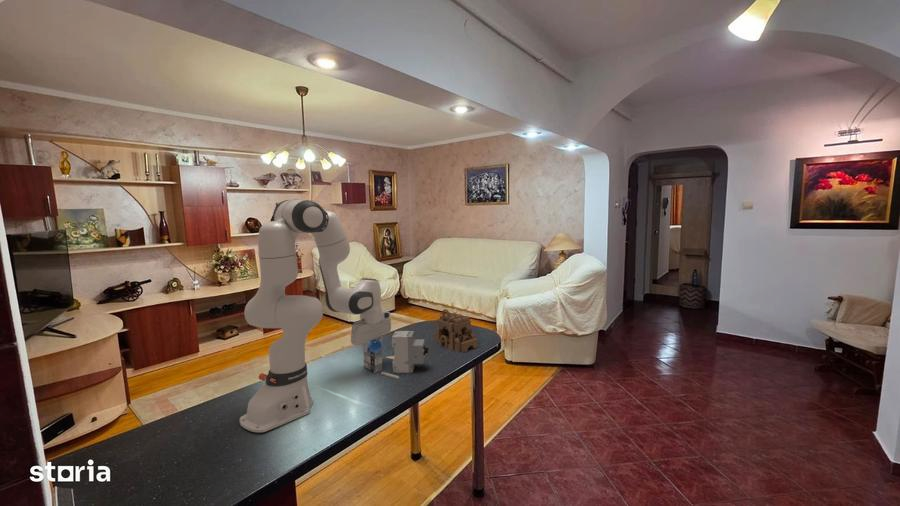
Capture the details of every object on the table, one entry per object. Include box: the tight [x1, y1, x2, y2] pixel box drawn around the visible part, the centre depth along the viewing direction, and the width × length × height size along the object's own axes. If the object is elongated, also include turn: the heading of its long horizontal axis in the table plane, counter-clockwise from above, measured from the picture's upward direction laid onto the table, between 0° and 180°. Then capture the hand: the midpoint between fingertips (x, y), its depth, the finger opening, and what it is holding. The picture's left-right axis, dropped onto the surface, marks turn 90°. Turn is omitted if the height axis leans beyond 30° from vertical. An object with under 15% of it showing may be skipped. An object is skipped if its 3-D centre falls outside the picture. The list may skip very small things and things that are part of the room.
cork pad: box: [385, 355, 395, 361], centre depth 162 cm, size 7×10×1 cm
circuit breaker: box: [391, 330, 429, 374], centre depth 148 cm, size 8×14×15 cm, turn 89°
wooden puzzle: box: [433, 309, 479, 353], centre depth 176 cm, size 22×15×19 cm, turn 41°
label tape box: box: [363, 338, 383, 374], centre depth 149 cm, size 9×4×12 cm, turn 44°
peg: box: [380, 371, 400, 380], centre depth 142 cm, size 1×9×1 cm, turn 58°
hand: (372, 348), depth 149 cm, fingers open, 5 cm apart
